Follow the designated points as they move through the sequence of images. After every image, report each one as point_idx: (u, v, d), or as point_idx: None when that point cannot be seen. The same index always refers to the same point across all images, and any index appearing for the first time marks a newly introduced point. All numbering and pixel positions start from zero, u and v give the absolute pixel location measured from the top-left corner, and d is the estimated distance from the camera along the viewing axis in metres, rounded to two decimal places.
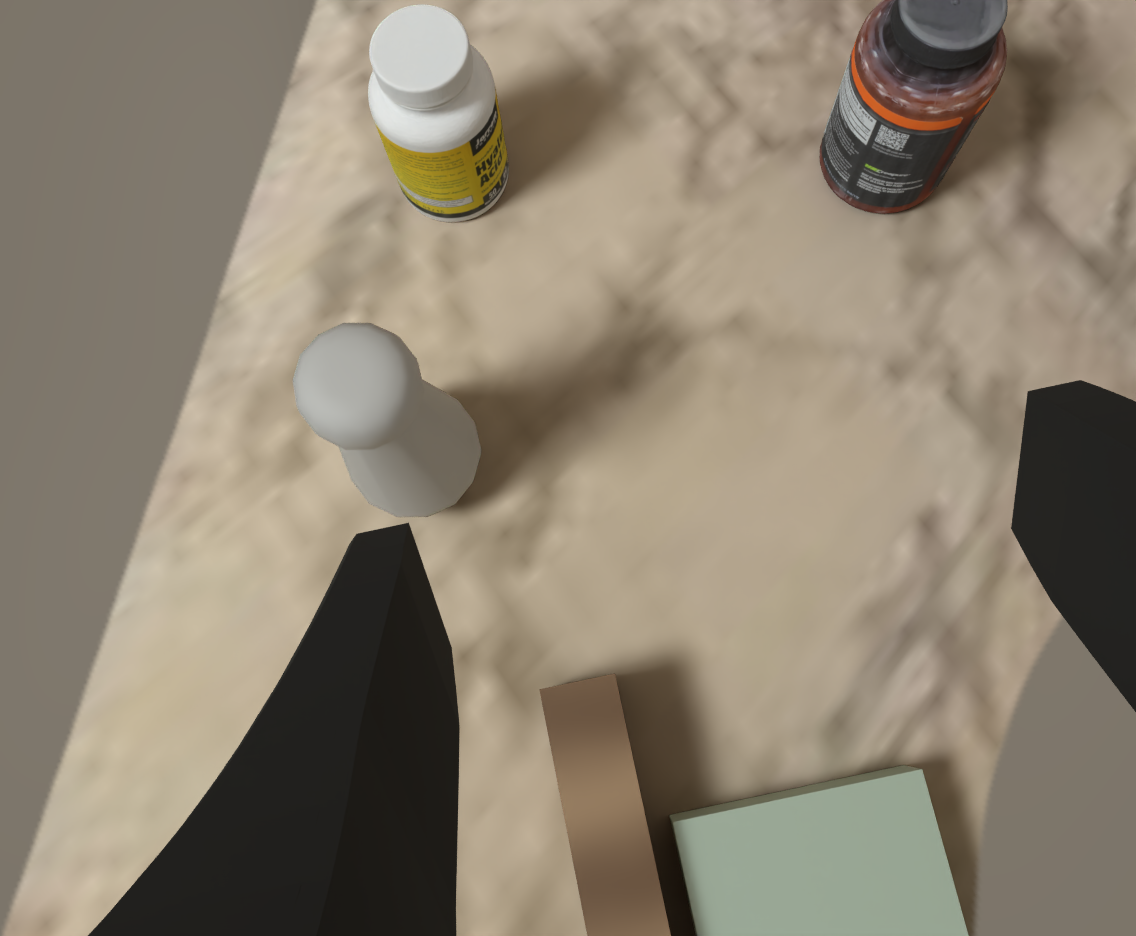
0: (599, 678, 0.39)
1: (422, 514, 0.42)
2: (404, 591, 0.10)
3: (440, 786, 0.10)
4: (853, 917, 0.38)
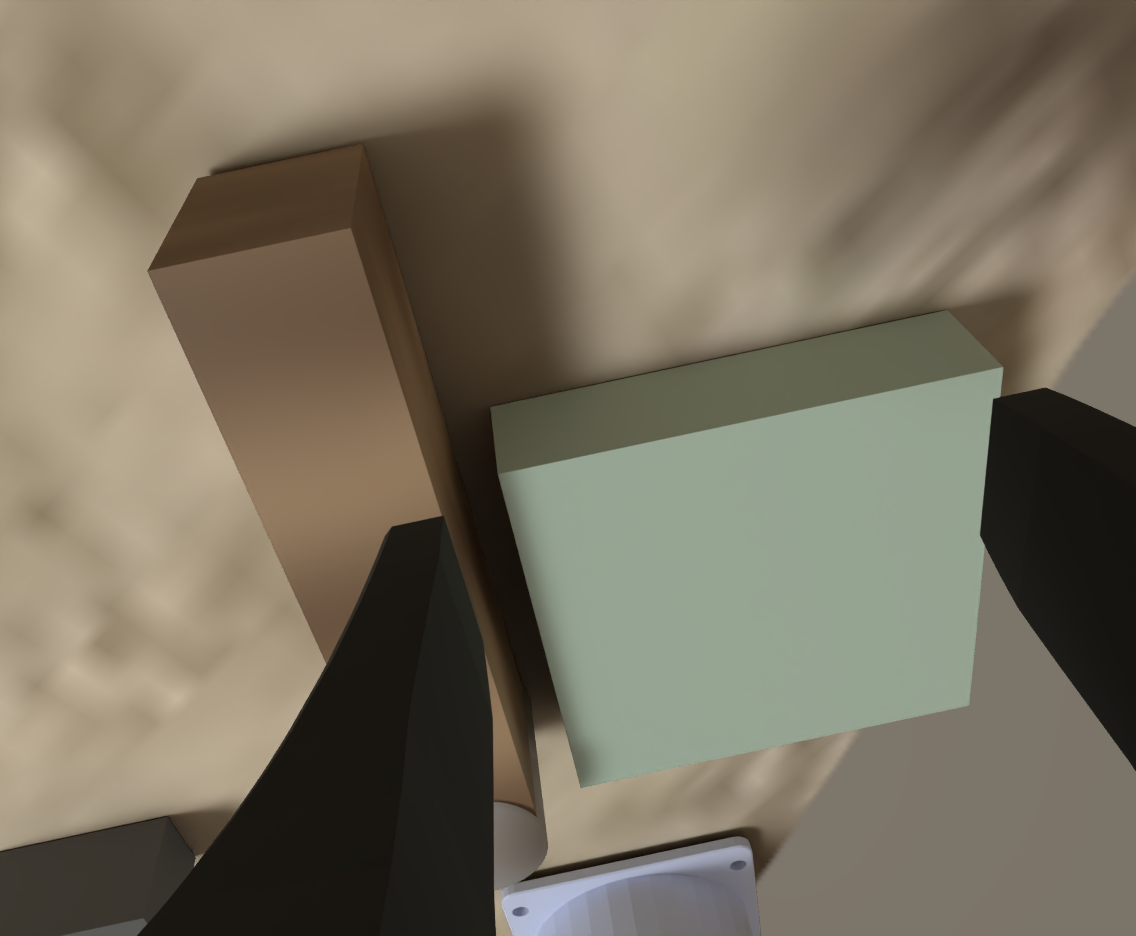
0: (309, 241, 0.14)
1: None
2: (443, 583, 0.10)
3: (478, 778, 0.10)
4: (806, 586, 0.22)
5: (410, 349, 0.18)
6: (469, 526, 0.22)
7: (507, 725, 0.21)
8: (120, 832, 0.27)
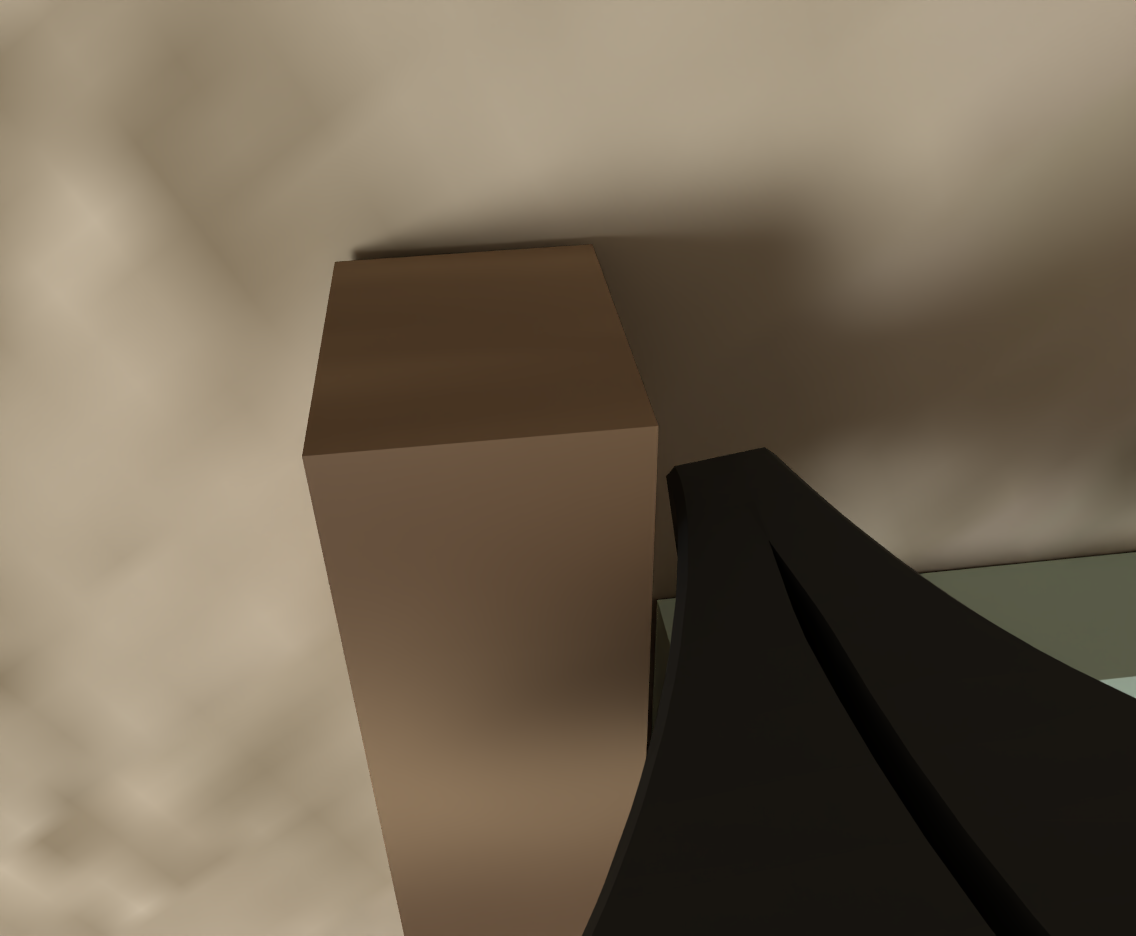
0: (586, 440, 0.08)
1: None
2: None
3: None
4: None
5: None
6: None
7: None
8: None
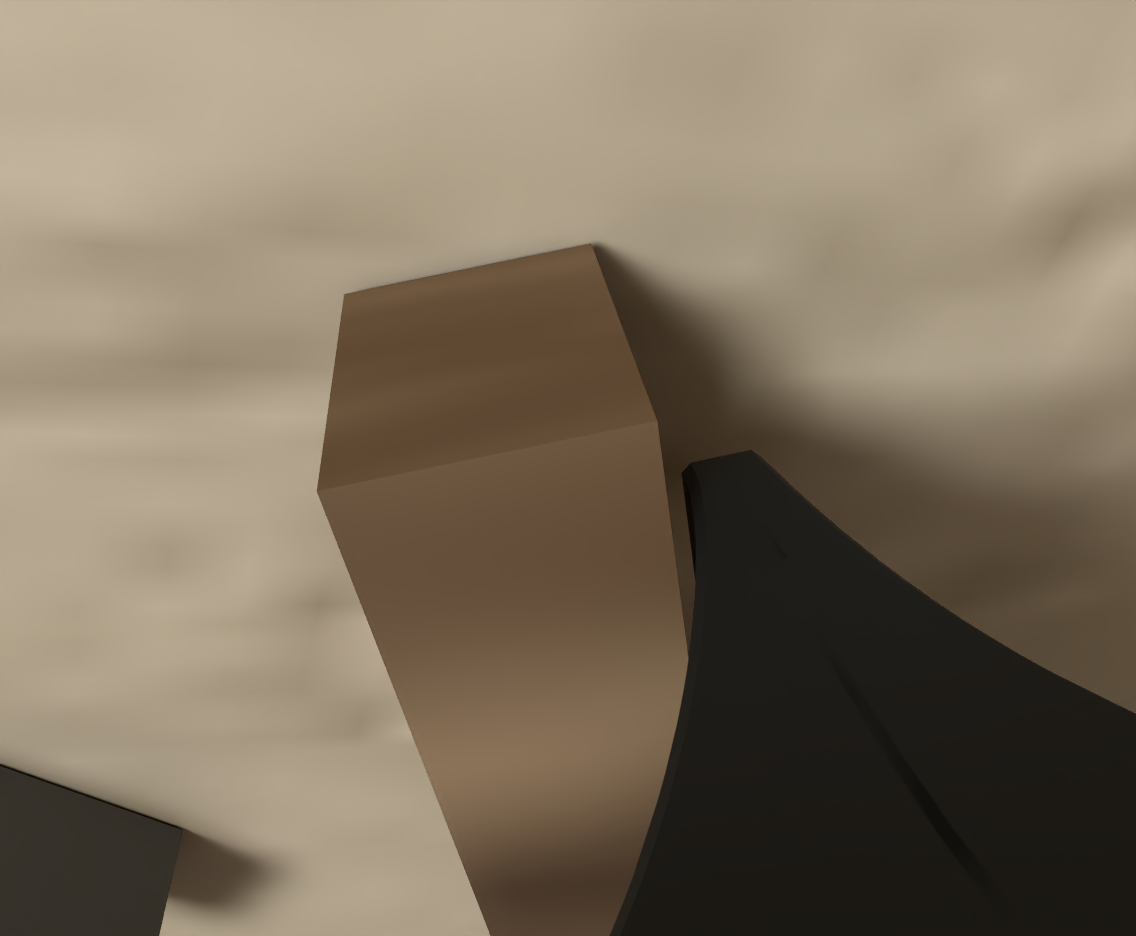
0: (587, 443, 0.09)
1: None
2: None
3: None
4: None
5: None
6: None
7: None
8: (109, 815, 0.17)
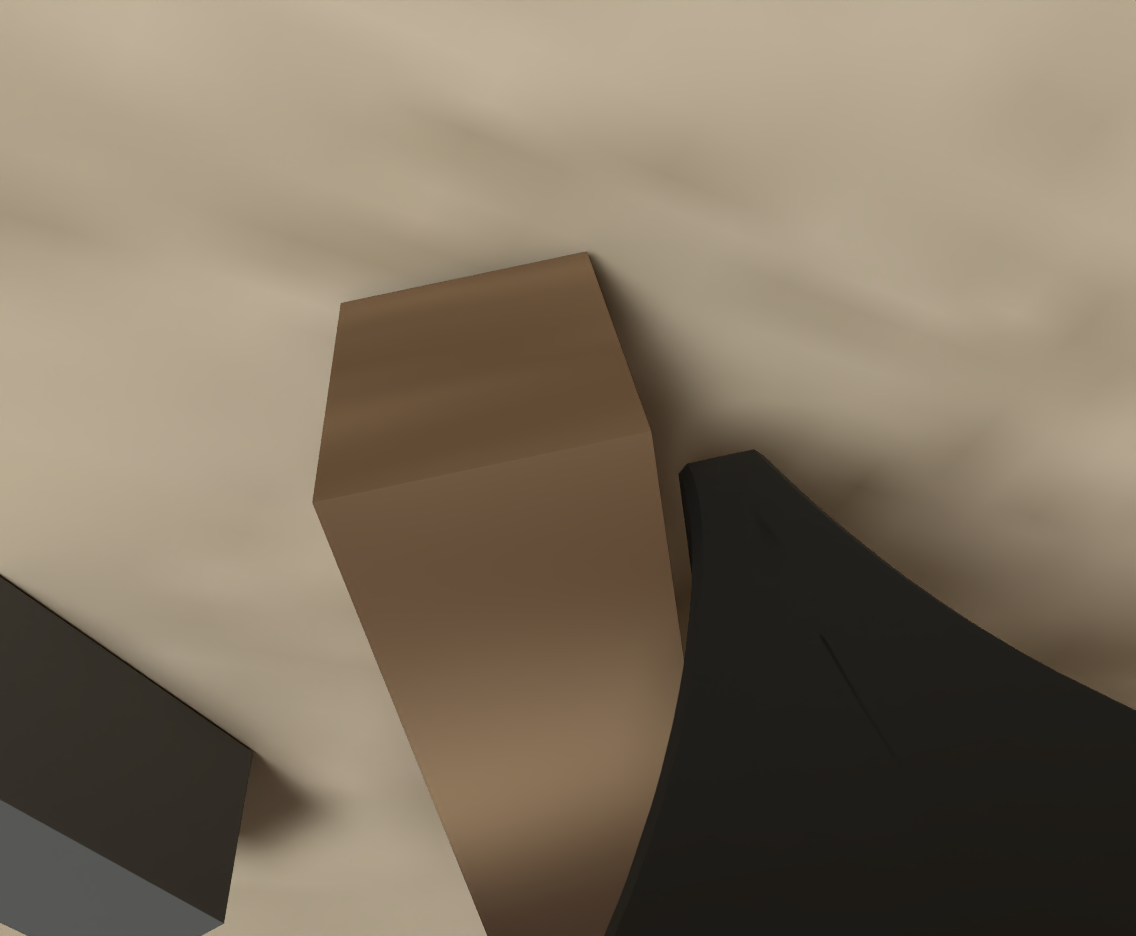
0: (581, 453, 0.09)
1: None
2: None
3: None
4: None
5: None
6: None
7: None
8: (192, 721, 0.16)
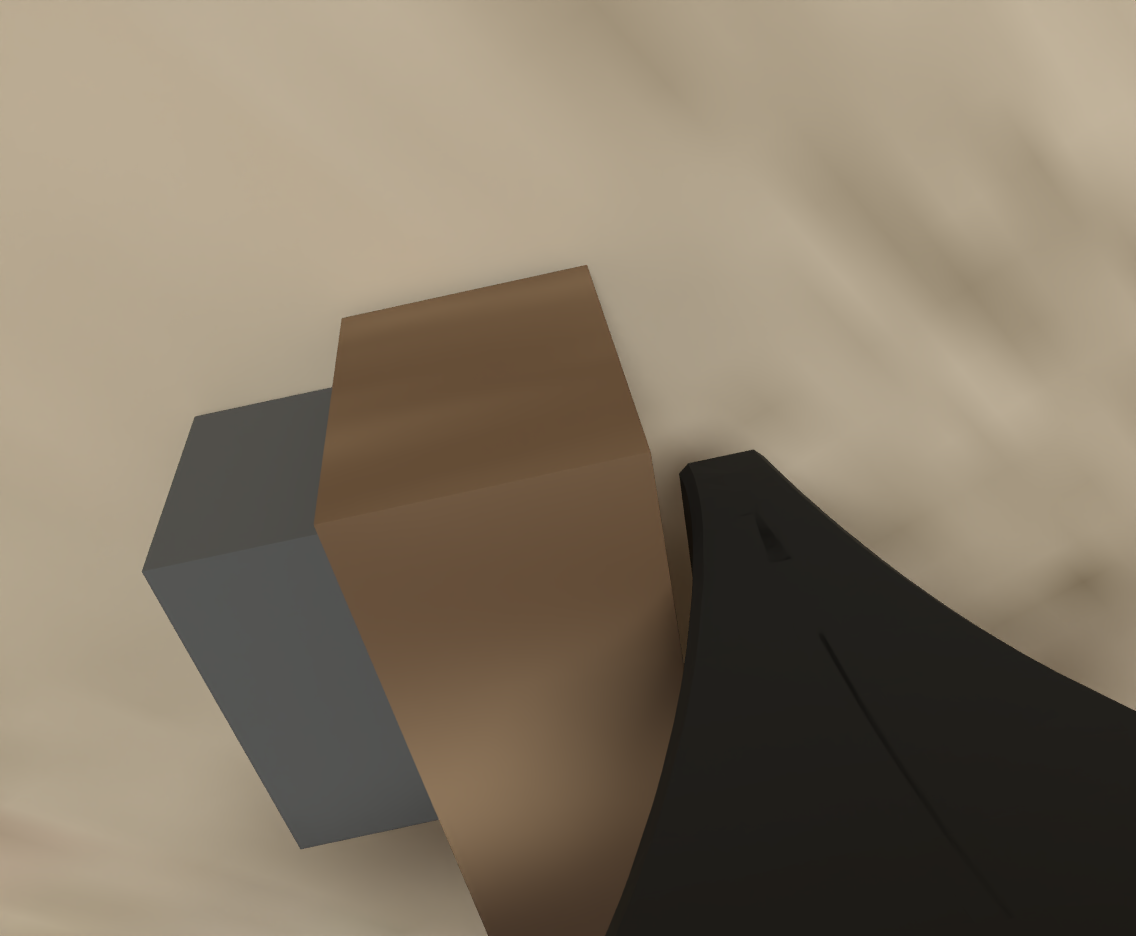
0: (581, 474, 0.09)
1: None
2: None
3: None
4: None
5: None
6: None
7: None
8: None
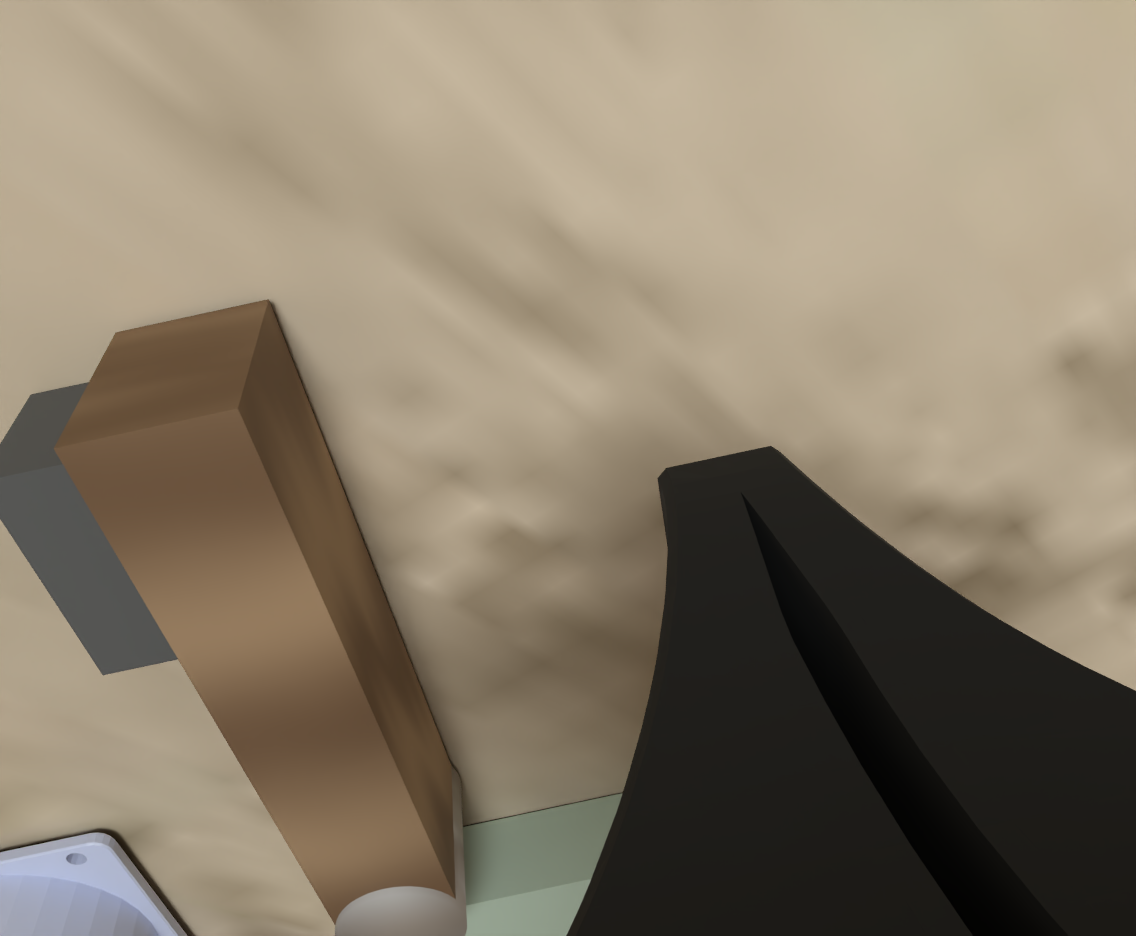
0: (200, 421, 0.16)
1: None
2: None
3: None
4: None
5: (315, 486, 0.20)
6: (386, 631, 0.23)
7: (420, 820, 0.22)
8: None
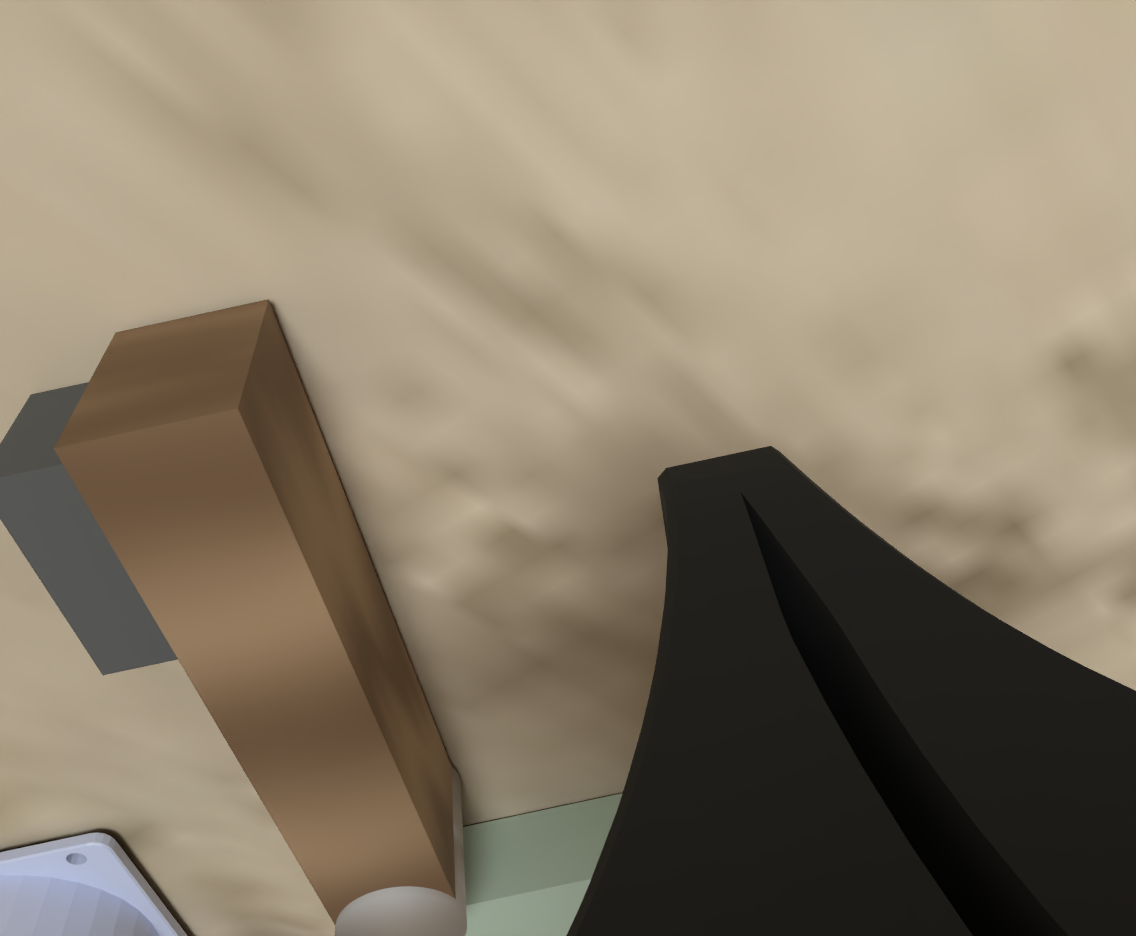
0: (200, 421, 0.16)
1: None
2: None
3: None
4: None
5: (315, 486, 0.20)
6: (386, 631, 0.23)
7: (420, 820, 0.22)
8: None
